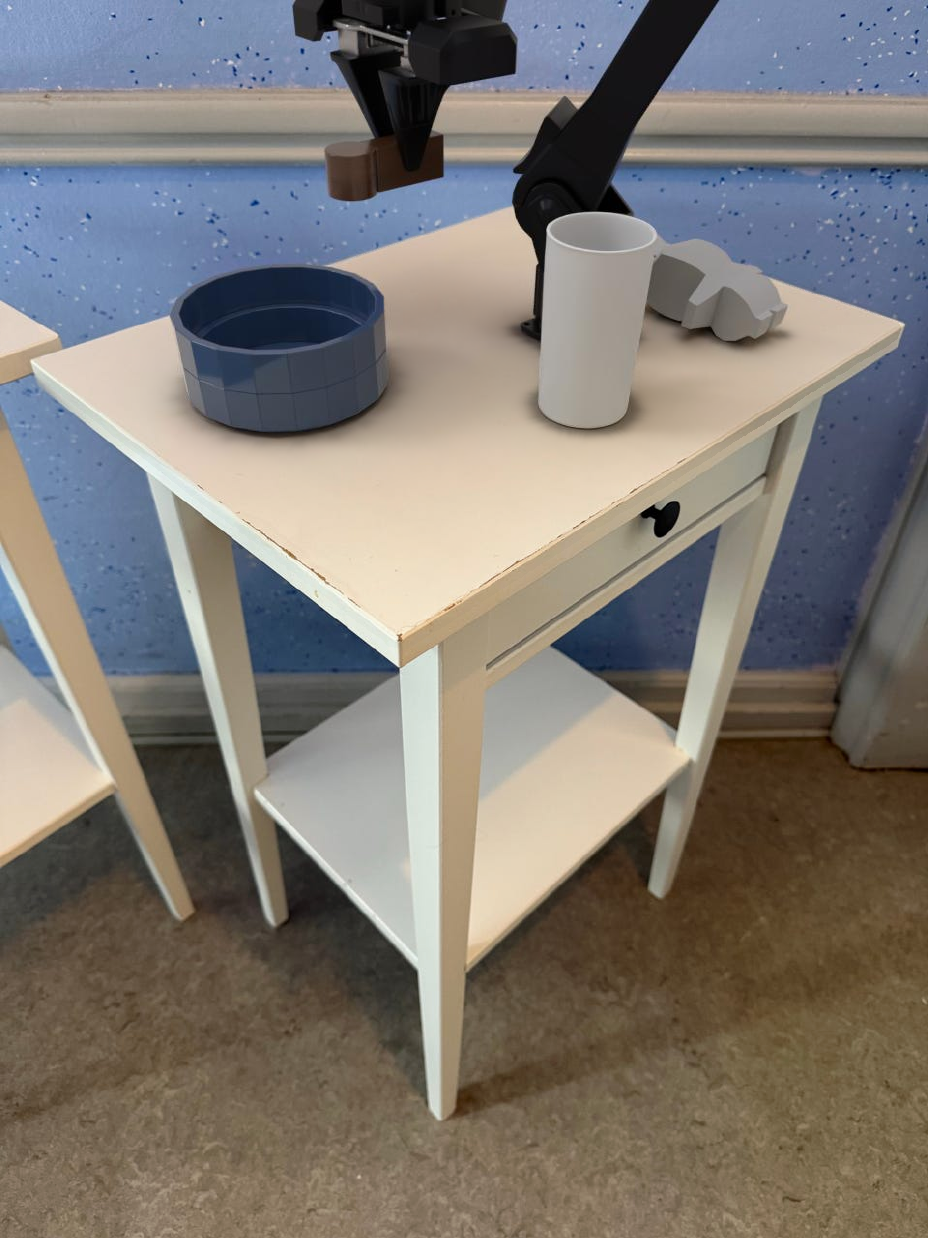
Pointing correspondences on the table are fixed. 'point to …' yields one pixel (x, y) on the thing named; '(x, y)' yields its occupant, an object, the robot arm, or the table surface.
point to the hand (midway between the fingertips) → (403, 166)
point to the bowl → (282, 346)
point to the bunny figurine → (712, 290)
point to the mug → (592, 315)
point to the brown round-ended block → (377, 167)
